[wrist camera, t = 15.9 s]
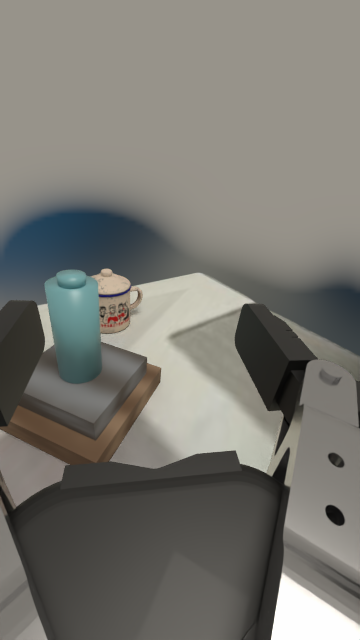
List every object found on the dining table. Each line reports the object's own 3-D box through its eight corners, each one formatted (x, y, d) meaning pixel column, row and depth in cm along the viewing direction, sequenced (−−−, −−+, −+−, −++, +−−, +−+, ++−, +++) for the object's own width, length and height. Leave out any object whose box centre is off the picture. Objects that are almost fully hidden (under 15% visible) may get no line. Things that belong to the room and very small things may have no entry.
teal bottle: (77, 351, 36) (67, 262, 29) (109, 363, 35) (107, 272, 28) (49, 375, 32) (30, 276, 25) (85, 389, 30) (75, 289, 24)
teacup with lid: (94, 339, 49) (88, 282, 43) (81, 316, 55) (75, 264, 49) (150, 325, 55) (153, 274, 49) (133, 306, 61) (133, 258, 55)
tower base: (77, 352, 45) (73, 323, 42) (160, 382, 41) (162, 352, 38) (-11, 423, 32) (-26, 389, 29) (97, 478, 28) (93, 445, 25)
